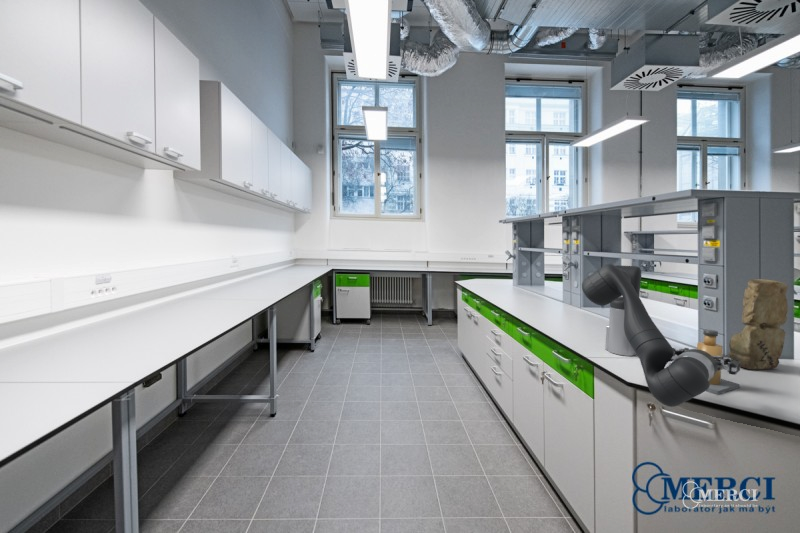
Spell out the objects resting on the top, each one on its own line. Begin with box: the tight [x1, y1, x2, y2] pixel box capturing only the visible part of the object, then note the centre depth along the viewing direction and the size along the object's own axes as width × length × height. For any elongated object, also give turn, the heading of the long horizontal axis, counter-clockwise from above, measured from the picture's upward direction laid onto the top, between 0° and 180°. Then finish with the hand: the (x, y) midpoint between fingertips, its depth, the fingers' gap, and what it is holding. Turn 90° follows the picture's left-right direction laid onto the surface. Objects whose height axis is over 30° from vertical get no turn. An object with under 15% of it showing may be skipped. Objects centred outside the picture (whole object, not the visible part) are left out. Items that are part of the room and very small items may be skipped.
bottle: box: [696, 329, 724, 385], centre depth 104 cm, size 6×6×15 cm
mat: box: [705, 378, 741, 396], centre depth 104 cm, size 10×12×1 cm
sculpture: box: [727, 278, 789, 371], centre depth 118 cm, size 12×9×30 cm
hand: (706, 355), depth 96 cm, fingers open, 8 cm apart
